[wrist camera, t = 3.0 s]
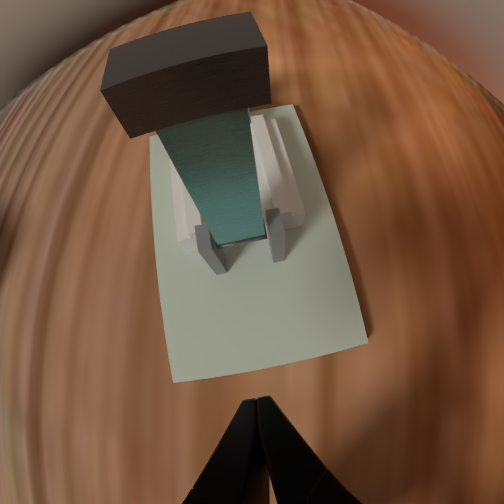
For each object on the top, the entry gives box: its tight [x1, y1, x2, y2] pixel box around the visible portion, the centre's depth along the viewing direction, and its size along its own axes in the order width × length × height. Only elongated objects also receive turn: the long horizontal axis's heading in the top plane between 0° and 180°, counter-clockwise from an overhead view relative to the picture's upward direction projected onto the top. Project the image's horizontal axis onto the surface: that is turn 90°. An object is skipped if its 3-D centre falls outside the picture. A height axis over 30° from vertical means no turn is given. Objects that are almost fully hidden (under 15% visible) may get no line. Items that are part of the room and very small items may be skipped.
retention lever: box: [100, 12, 271, 249], centre depth 13 cm, size 2×4×14 cm, turn 101°
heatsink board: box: [150, 104, 368, 383], centre depth 22 cm, size 22×14×6 cm, turn 11°
